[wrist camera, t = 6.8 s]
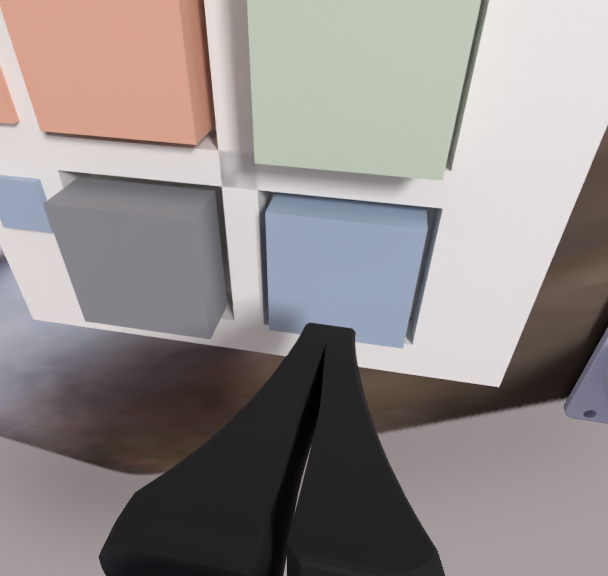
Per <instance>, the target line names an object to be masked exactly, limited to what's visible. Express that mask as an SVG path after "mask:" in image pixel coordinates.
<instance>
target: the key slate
mask: <svg viewBox="0 0 608 576" xmlns="http://www.w3.org/2000/svg"><path fill="white" fill-rule="evenodd" d="M265 222H266V250H267V278H268V306H269V330H272V331H280V332H287V333H294V334H301V333H302V331H303V329H304V327H305V325H306V324H308V323H309V322H310V323H317V324H325V325H332V326H339V327H346V328H352V329H353V330H354V331H355V332H356V334H355V342H359V343H366V344H373V345H380V346H388V347H395V348H402V349H403V346H404V342H405V337H406V332H407V327H408V322H409V317H410V313H411V308H412V303H413V298H414V293H415V289H416V284H417V279H418V274H419V269H420V265H421V260H422V255H423V250H424V245H425V240H426V236H427V231H428V226H427V207H422V206H412V205H402V204H392V203H382V202H372V201H362V200H352V199H342V198H332V197H322V196H312V195H302V194H291V193H281V192H275V194H274V196H273V198H272V200H271V202H270V204H269V206H268V208H267V210H266V212H265Z"/></svg>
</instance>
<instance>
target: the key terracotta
mask: <svg viewBox="0 0 608 576" xmlns="http://www.w3.org/2000/svg"><path fill="white" fill-rule="evenodd" d="M0 8H1V11H2V14H3V17H4V20H5V23H6V26H7V29H8V32H9V36H10V39H11V42H12V45H13V48H14V51H15V54H16V57H17V60H18V63H19V66H20V69H21V72H22V75H23V79H24V82H25V85H26V88H27V91H28V94H29V97H30V100H31V103H32V106H33V109H34V112H35V115H36V118H37V122H38V125H39V128H40V131H45V132H56V133H67V134H79V135H90V136H101V137H113V138H124V139H135V140H147V141H158V142H169V143H180V144H192V145H197V144H198V143H199V142H200V141H201V140H202V139H203V138H204V137H205V136H206V135H207V134H208V133H209V132H210V131H211V130H212V129H213V128H214V126H215V125H216V121H215V110H214V100H213V90H212V79H211V69H210V58H209V48H208V37H207V27H206V16H205V6H204V0H0Z"/></svg>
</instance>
